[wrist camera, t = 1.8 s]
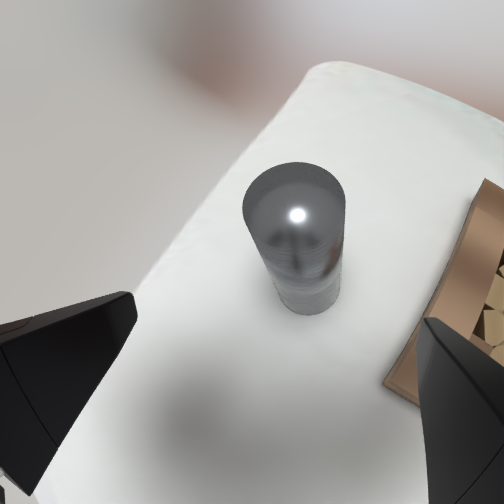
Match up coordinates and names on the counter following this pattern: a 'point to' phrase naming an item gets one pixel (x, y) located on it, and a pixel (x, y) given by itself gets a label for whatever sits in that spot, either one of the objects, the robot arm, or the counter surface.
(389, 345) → the counter surface
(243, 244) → the counter surface
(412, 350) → the bearing housing
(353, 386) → the counter surface
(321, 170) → the steel roller
